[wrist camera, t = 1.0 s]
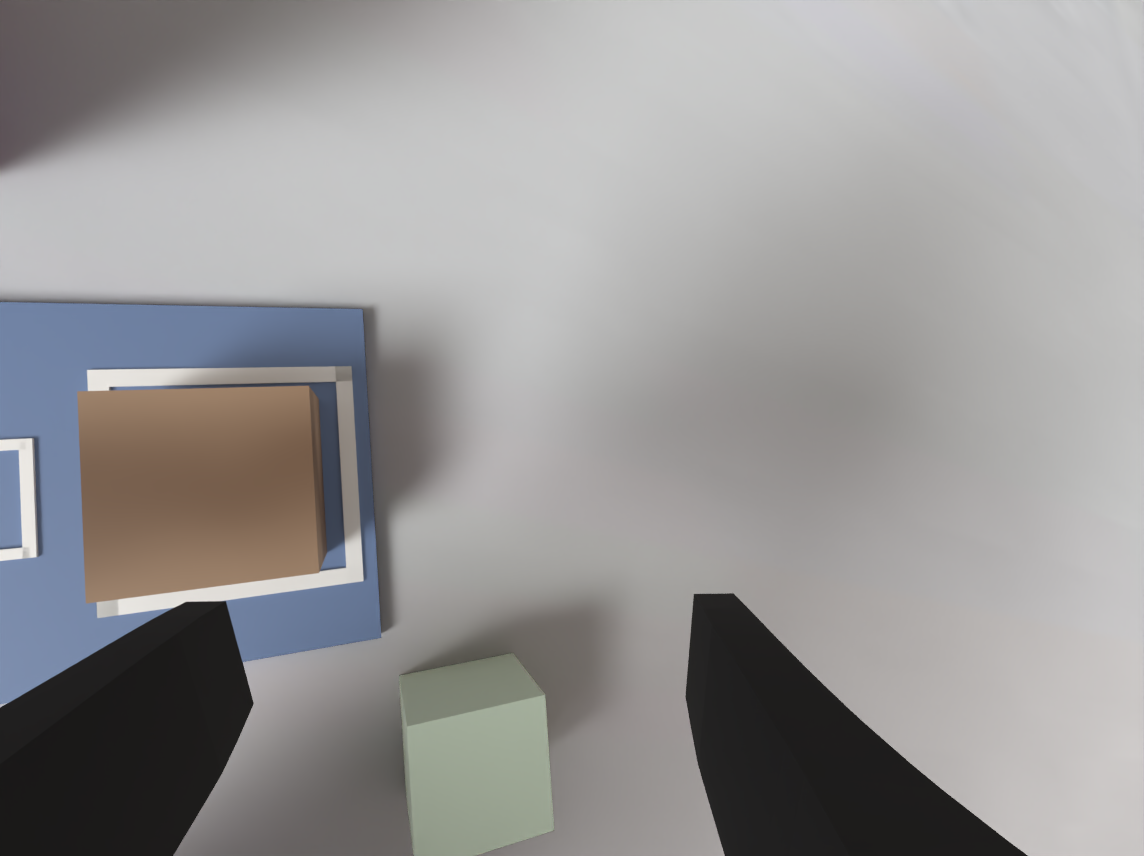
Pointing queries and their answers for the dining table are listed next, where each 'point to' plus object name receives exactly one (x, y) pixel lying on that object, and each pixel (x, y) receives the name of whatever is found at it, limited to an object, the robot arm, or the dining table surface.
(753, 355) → the dining table surface
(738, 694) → the robot arm
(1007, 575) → the dining table surface
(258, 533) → the brown block
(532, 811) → the sage cube
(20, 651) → the blueprint mat
